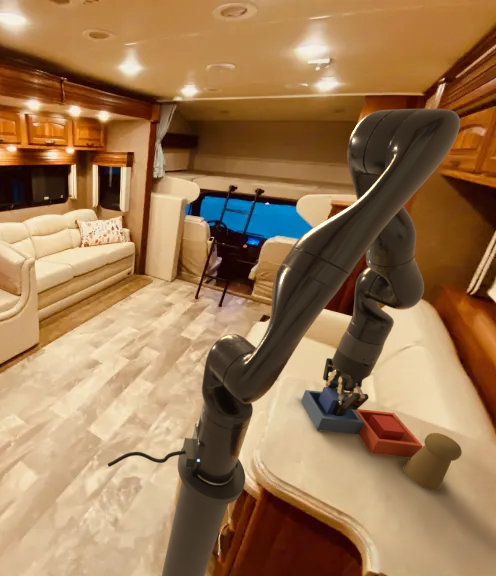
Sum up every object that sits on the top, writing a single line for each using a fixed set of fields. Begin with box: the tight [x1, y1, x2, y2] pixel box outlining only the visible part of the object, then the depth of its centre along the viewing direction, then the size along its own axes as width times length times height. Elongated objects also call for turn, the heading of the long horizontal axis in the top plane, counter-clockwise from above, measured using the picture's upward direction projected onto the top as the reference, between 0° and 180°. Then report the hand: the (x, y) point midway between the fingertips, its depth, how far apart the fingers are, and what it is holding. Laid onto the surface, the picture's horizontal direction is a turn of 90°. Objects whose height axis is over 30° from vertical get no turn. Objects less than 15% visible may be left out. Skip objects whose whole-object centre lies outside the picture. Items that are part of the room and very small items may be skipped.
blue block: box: [319, 386, 349, 416], centre depth 79 cm, size 4×4×4 cm
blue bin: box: [300, 389, 364, 436], centre depth 81 cm, size 9×9×4 cm
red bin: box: [355, 408, 424, 459], centre depth 75 cm, size 9×9×4 cm
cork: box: [402, 432, 463, 491], centre depth 66 cm, size 6×6×11 cm
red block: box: [368, 415, 405, 441], centre depth 75 cm, size 4×4×4 cm
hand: (332, 406), depth 80 cm, fingers closed on blue block, 4 cm apart
